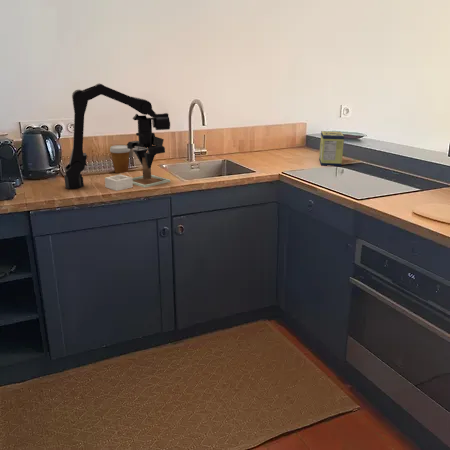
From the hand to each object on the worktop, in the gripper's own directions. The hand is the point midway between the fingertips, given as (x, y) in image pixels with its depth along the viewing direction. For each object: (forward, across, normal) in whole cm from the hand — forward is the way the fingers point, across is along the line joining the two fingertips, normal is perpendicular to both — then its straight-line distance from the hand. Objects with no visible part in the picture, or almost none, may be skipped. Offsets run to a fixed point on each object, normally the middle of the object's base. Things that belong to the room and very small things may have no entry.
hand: (146, 167), depth 203 cm
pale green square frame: (+7, 0, 0) cm, 7 cm away
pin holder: (+7, +1, +14) cm, 16 cm away
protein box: (+7, -34, -94) cm, 100 cm away
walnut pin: (+5, 0, 0) cm, 5 cm away
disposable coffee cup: (+8, +26, -5) cm, 28 cm away
